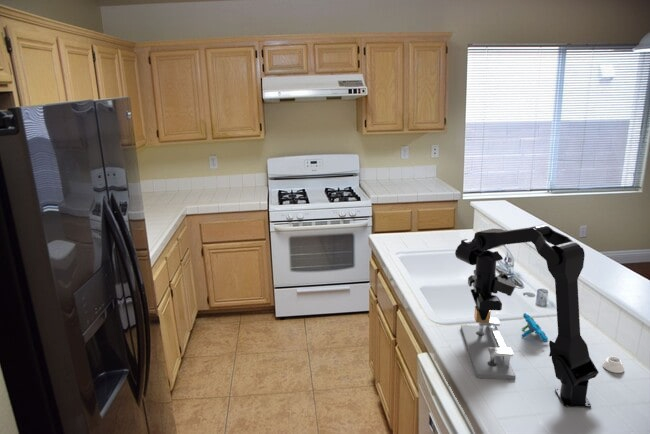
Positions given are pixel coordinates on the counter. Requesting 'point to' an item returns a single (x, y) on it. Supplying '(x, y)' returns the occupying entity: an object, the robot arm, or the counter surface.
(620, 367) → the white jar
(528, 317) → the gear
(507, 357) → the divider frame
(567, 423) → the counter surface
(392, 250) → the counter surface
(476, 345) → the bolt plate
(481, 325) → the sliding leg
